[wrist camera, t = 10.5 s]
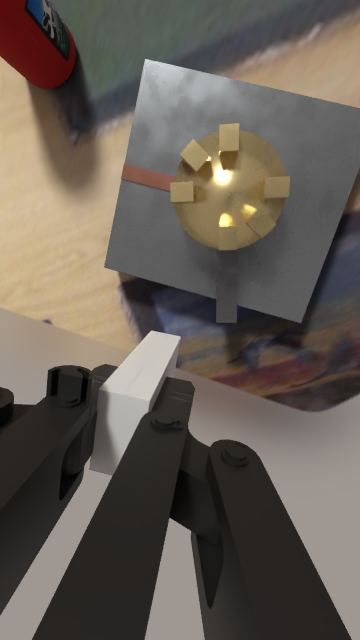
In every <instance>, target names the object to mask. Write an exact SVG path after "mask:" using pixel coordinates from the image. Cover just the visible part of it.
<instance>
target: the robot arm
mask: <svg viewBox="0 0 360 640" xmlns="http://www.w3.org/2000/svg"><path fill="white" fill-rule="evenodd" d="M180 339H181V337H180V336H175V335H170V334H165V333H160V332H155V331H151V332H150V333H149V334H148V335H147V336H146V337H145V338H144V339H143V340H142V342H141V343H140V344H139V345H138V346H137V347H136V348H135V349H134V350H133V352H132V353H131V354H130V355H129V356H128V357H127V358H126V359H125V360H124V362H123V363H122V364H121V365H120V366H119V367H117V366H112V365H108V364H104V365H101V366H98V367H96V368H94V369H93V370H92V371H90V370H89V369H87V368H84V367H81V366H73V365H68V366H67V365H65V366H58V367H54V368H52V369H50V370H48V379H47V394H46V397H45V398H43V399H42V400H41V401H40V402H39V403H37V404H36V405H22V404H14V395H13V393H12V392H11V391H10V390H8V389H5V388H1V387H0V615H1V613H2V612H3V610H4V609H5V607H6V605H7V604H8V602H9V600H10V599H11V597H12V595H13V594H14V592H15V590H16V589H17V587H18V585H19V584H20V582H21V581H22V579H23V577H24V575H25V574H26V572H27V571H28V569H29V567H30V566H31V564H32V562H33V561H34V559H35V557H36V556H37V554H38V553H39V551H40V549H41V548H42V546H43V544H44V543H45V541H46V539H47V538H48V536H49V535H50V533H51V531H52V530H53V528H54V526H55V525H56V523H57V521H58V520H59V518H60V516H61V514H62V513H63V511H64V510H65V508H66V507H67V505H68V503H69V502H70V500H71V498H72V497H73V495H74V493H75V492H76V490H77V488H78V487H79V485H80V483H81V481H82V478H83V473H84V465H85V463H86V462H87V460H88V459H89V457H90V456H91V460H90V470H93V471H97V472H101V473H104V474H108V475H112V479H111V480H110V482H109V485H108V487H107V489H106V490H105V493H104V495H103V497H102V499H101V501H100V503H99V505H98V507H97V509H96V511H95V513H94V515H93V517H92V519H91V521H90V523H89V525H88V527H87V529H86V531H85V533H84V535H83V537H82V539H81V541H80V543H79V545H78V547H77V549H76V551H75V553H74V555H73V558H72V559H71V561H70V563H69V566H68V568H67V570H66V572H65V574H64V576H63V578H62V580H61V582H60V584H59V586H58V588H57V590H56V592H55V594H54V596H53V598H52V600H51V602H50V604H49V606H48V608H47V610H46V613H45V614H44V616H43V618H42V620H41V622H40V624H39V626H38V628H37V630H36V633H35V634H34V637H33V638H32V640H144V639H145V635H146V630H147V625H148V620H149V615H150V610H151V605H152V600H153V595H154V590H155V585H156V581H157V575H158V571H159V566H160V561H161V556H162V551H163V546H164V541H165V536H166V531H167V527H168V521H169V517H170V518H171V519H173V520H174V521H176V522H178V523H179V524H181V525H182V526H184V527H186V528H187V529H189V530H191V543H192V550H193V557H194V564H195V572H196V579H197V587H198V594H199V601H200V608H201V615H202V623H203V629H204V637H205V640H352V639H351V637H350V635H349V633H348V631H347V629H346V628H345V626H344V624H343V622H342V620H341V618H340V616H339V614H338V612H337V610H336V608H335V606H334V604H333V602H332V600H331V598H330V596H329V594H328V592H327V590H326V588H325V586H324V584H323V582H322V580H321V578H320V576H319V574H318V572H317V570H316V568H315V566H314V564H313V562H312V560H311V558H310V556H309V554H308V552H307V550H306V548H305V546H304V544H303V543H302V540H301V538H300V536H299V535H298V533H297V531H296V529H295V527H294V525H293V523H292V521H291V519H290V517H289V515H288V513H287V511H286V509H285V507H284V505H283V503H282V501H281V499H280V497H279V495H278V493H277V491H276V489H275V487H274V485H273V483H272V481H271V479H270V477H269V475H268V473H267V471H266V469H265V467H264V465H263V463H262V461H261V459H260V458H259V456H258V455H257V454H256V452H255V451H254V450H252V449H251V448H250V447H248V446H247V445H245V444H243V443H240V442H237V441H233V440H219V441H216V442H214V443H213V444H212V445H211V447H209V446H206V445H204V444H203V443H201V442H199V441H197V440H196V439H195V438H194V437H193V436H192V435H191V433H190V432H189V429H188V421H189V417H190V412H191V406H192V402H193V396H194V391H195V388H194V386H193V385H192V383H191V382H190V381H185V380H181V379H176V378H174V373H175V367H176V361H177V356H178V350H179V345H180Z"/></svg>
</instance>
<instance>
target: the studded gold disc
mask: <svg viewBox="0 0 360 640" xmlns="http://www.w3.org/2000/svg"><path fill="white" fill-rule="evenodd" d="M180 156H181V158H182V161H181V163H180V164H179V167H178V169H177V171H176V175H175V178H174V182H171V183H170V194H171V203H172V204H174V208H175V212H176V215H177V217H178V219H179V221H180V223H181V225H182V226H183V228H184V229H185V230H186V232H187V233H188V234H189V235H190V236H191V237H192V238H194V239H195V240H196V241H198V242H199V243H201V244H203V245H205V246H207V247H210V248H214V249H217V265H216V323H237V285H238V248H242V247H245V246H248V245H250V244H252V243H254V242H256V241H257V240H259V239H262V238H263V237H264V236H265V235H266V234H267V233H268V232H269V231H270V230H271V229H272V228H273V227H274V226H275V225H276V223H275V222H276V221H277V219H278V217H279V215H280V213H281V211H282V208H283V206H284V202H285V199H287V198H288V197H289V187H290V176H286V175H285V171H284V167H283V164H282V162H281V160H280V158H279V156H278V154H277V153H276V151H275V150H274V149H273V148H272V146H271V145H270V144H268V143H267V142H266V141H265V140H264V139H262V138H261V137H259V136H257V135H255V134H253V133H250V132H247V131H243V130H239V123H235V124H222V125H219V132H216V133H213V134H210V135H208V136H206V137H204V138H203V139H201V140H200V141H198V142H196V141H195V140H194V139H192V141H191V142H190V143H189V144H188V145H187V147H186V148H185V149H184V150H183V151H182V153H181V154H180Z"/></svg>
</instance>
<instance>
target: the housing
mask: <svg viewBox="0 0 360 640" xmlns="http://www.w3.org/2000/svg"><path fill="white" fill-rule="evenodd" d="M235 123H239V130H243V131H247V132H250V133H253V134H255V135H257V136H259V137H261V138H262V139H264V140H265V141H266V142H267V143H268V144H270V145H271V146H272V148H273V149H274V150H275V151H276V153H277V154H278V156H279V158H280V160H281V162H282V164H283V167H284V171H285V175H286V176H290V187H289V197H288V198H287V199H285V202H284V206H283V208H282V211H281V213H280V215H279V217H278V219H277V221H276V222H275V223H276V225H275V226H274V227H273V228H272V229H271V230H270V231H269V232H268V233H267V234H266V235H265V236H264V237H263V238H262V239H259V240H257V241H256V242H254V243H252V244H250V245H248V246H245V247H242V248H238V285H237V305H239V306H242V307H246V308H249V309H253V310H256V311H260V312H263V313H267V314H270V315H274V316H277V317H281V318H284V319H288V320H291V321H295V322H298V323H301V322H302V319H303V316H304V314H305V311H306V309H307V306H308V303H309V301H310V298H311V295H312V293H313V290H314V287H315V285H316V282H317V280H318V277H319V274H320V272H321V269H322V266H323V264H324V261H325V258H326V256H327V253H328V250H329V248H330V245H331V243H332V240H333V237H334V235H335V232H336V229H337V227H338V224H339V221H340V219H341V216H342V214H343V211H344V208H345V206H346V203H347V200H348V198H349V195H350V192H351V190H352V187H353V184H354V182H355V179H356V177H357V174H358V171H359V169H360V108H356V107H352V106H347V105H343V104H339V103H334V102H330V101H325V100H321V99H317V98H312V97H308V96H304V95H299V94H295V93H291V92H286V91H282V90H278V89H273V88H269V87H265V86H260V85H256V84H251V83H247V82H243V81H238V80H234V79H230V78H225V77H221V76H217V75H212V74H208V73H204V72H199V71H195V70H191V69H186V68H182V67H178V66H173V65H169V64H164V63H160V62H156V61H151V60H147V59H145V63H144V68H143V73H142V78H141V83H140V88H139V93H138V98H137V103H136V108H135V114H134V119H133V124H132V129H131V134H130V139H129V144H128V149H127V154H126V159H125V164H124V167H123V172H122V177H121V179H122V180H121V185H120V190H119V195H118V200H117V205H116V210H115V215H114V220H113V225H112V230H111V236H110V241H109V246H108V251H107V256H106V261H105V266H104V267H105V268H108V269H112V270H115V271H119V272H122V273H126V274H129V275H133V276H136V277H140V278H143V279H147V280H150V281H154V282H158V283H161V284H165V285H168V286H172V287H175V288H179V289H182V290H186V291H189V292H193V293H196V294H200V295H203V296H207V297H210V298H214V299H216V265H217V249H214V248H210V247H207V246H205V245H203V244H201V243H199V242H198V241H196V240H195V239H194V238H192V237H191V236H190V235H189V234H188V233H187V232H186V230H185V229H184V228H183V226H182V225H181V223H180V221H179V219H178V217H177V215H176V212H175V208H174V204H172V203H171V194H170V183H171V182H174V178H175V175H176V171H177V169H178V167H179V164H180V163H181V161H182V158H181V156H180V154H181V153H182V151H183V150H184V149H185V148H186V147H187V145H188V144H189V143H190V142H191V141H192V139H194V140H195V141H196V142H198V141H200V140H201V139H203V138H204V137H206V136H208V135H210V134H213V133H216V132H219V125H222V124H235Z"/></svg>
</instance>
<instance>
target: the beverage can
mask: <svg viewBox="0 0 360 640" xmlns="http://www.w3.org/2000/svg"><path fill="white" fill-rule="evenodd" d="M0 56H1V57H2V58H3V59H4V60H5V61H6V62H7V63H9V64H10V65H11V66H12V67H13V68H14V69H16V70H17V71H18V72H19V73H20V74H21V75H23V76H24V77H25V78H26V79H27V80H28V81H30V82H31V83H32V84H33V85H35V86H37V87H40V88H44V89H51V88H55V87H58V86H59V85H61V84H62V83H64V82H65V81H66V80H67V78H68V77H69V76H70V74H71V72H72V70H73V67H74V63H75V56H76V51H75V44H74V40H73V37H72V35H71V33H70V31H69V29H68V28H67V26H66V25H65V23H64V22H63V20H62V19H61V17H60V16H59V14H58V13H57V11H56V10H55V8H54V7H53V5H52V4H51V2H50V1H49V0H0Z"/></svg>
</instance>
